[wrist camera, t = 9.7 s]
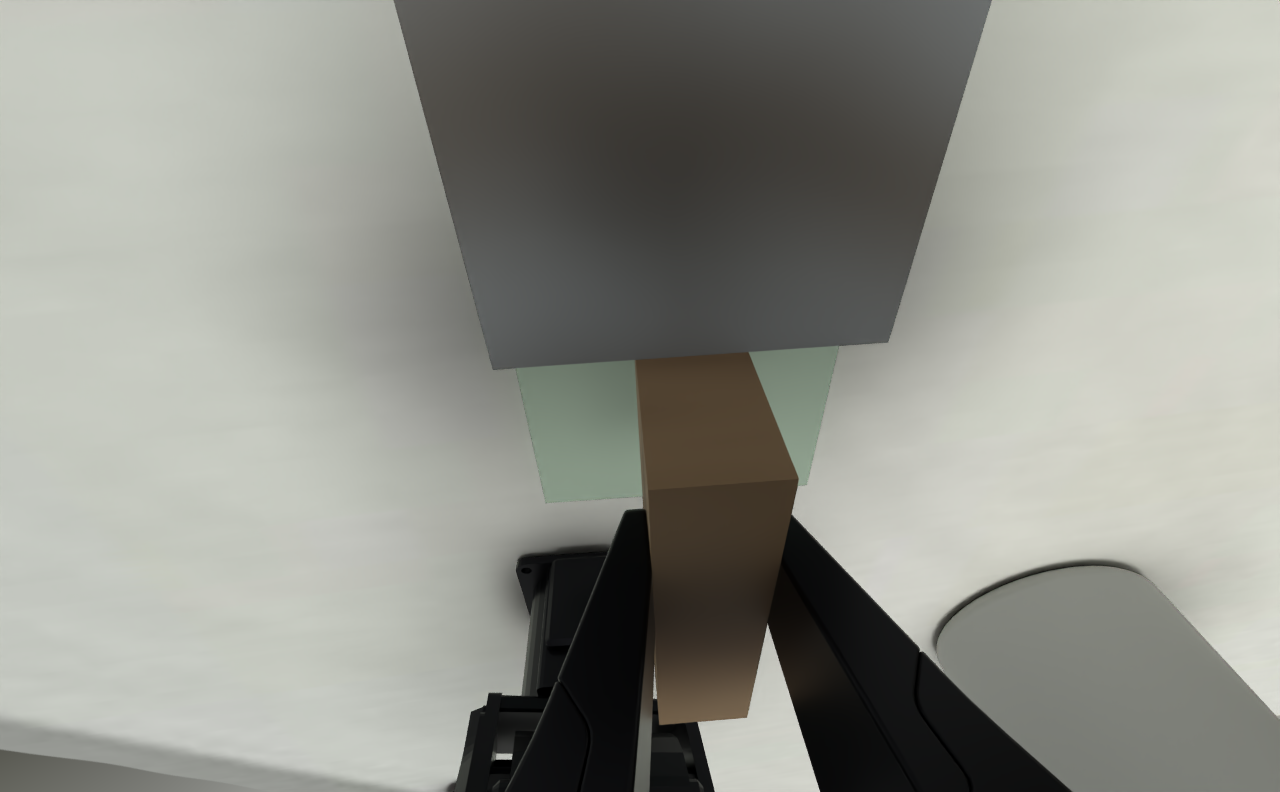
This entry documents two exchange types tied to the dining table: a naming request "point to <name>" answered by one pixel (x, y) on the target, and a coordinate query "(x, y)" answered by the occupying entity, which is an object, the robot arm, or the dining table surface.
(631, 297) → the spatula
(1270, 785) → the cylinder vase
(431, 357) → the dining table surface
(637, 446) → the mat
